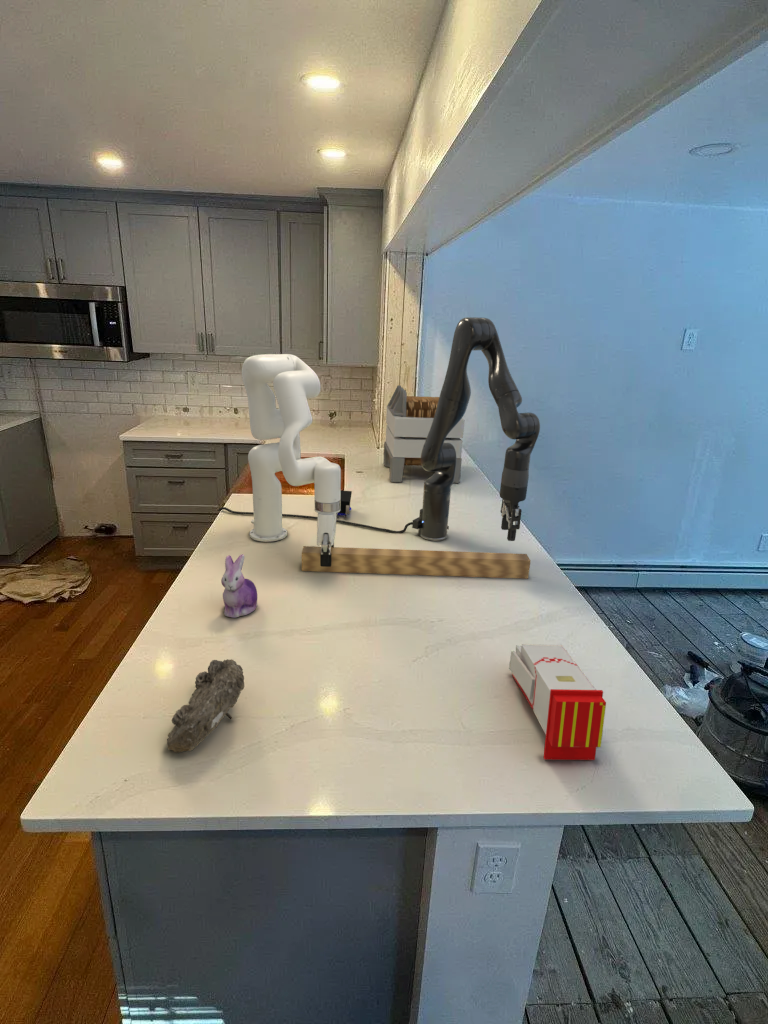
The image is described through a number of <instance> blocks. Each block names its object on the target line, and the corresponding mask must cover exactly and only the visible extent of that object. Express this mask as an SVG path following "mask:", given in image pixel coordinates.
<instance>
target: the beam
mask: <svg viewBox="0 0 768 1024" xmlns="http://www.w3.org/2000/svg"><path fill="white" fill-rule="evenodd" d="M327 548H328V549H329V547H327ZM320 553H321V546H316V545H315V546H312V545H311V546H309V545H304V546H303V547H302V550H301V571H302V572H318V573H319V572H320V573H321V572H322V573H323V572H324V573H349V574H350V573H352V574H353V573H354V574H377V575H378V574H381V575H383V574H384V575H411V576H412V575H413V576H438V577H464V578H465V577H466V578H467V577H468V578H496V579H497V578H498V579H523V580H524V579H525V580H526V579H527V580H528V579H529V574H530V567H531V558H530V557H529V555H528V554H527V553H511V552H510V553H508V552H507V553H506V552H480V551H454V550H453V551H451V550H423V549H400V548H398V549H395V548H371V547H370V548H369V547H342V546H341V547H339V546H338V547H337V546H334V547H331V553H332V562H331V567H323V566H320Z"/></svg>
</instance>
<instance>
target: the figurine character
mask: <svg viewBox="0 0 768 1024" xmlns="http://www.w3.org/2000/svg"><path fill="white" fill-rule="evenodd" d="M352 492H353V491H352V490H342V489H341V505H340V512H338V513H336V519H339V518H340V517H341V516H344V519H347V516H348V515H350V511H352V507H351V498H352V494H353V493H352Z"/></svg>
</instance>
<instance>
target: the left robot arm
mask: <svg viewBox="0 0 768 1024" xmlns="http://www.w3.org/2000/svg"><path fill="white" fill-rule="evenodd" d="M241 379H242V383H243V387H244V389H245V393H246V397H247V405H248V406H247V407H248V416H249V428H250V432H251V435H252V438H254V439H255V440H257V441H268V440H276V439H279V441H277V442H269V443H263V444H258V445H255V446H253V447H252V448H251V449H250V450H249V452H248V453H247V454H248V455H247V462H248V466H249V470H250V475H251V487H252V510H253V511H252V512H253V514H254V515H253V519H251V520H250V523H251V524H253V528H252V529H251V530H250V531H249V538H250V539H252V540H253V541H257V542H262V543H263V542H265V543H270V542H271V543H272V542H277V541H281V540H283V539H285V538H286V537H287V536H288V530H287V529H286V528H285V527H283V516H282V514H283V489H282V483H281V481H280V479H279V478H278V477H277V475H276V473H278V472H279V473H280V472H282V474H283V477H284V479H285V481H286V482H287V483H288V485H289V486H293V487H300V486H306V485H309V484H314V487H313V488H314V490H313V492H314V495H313V497H314V498H313V499H314V512H315V513H316V514H317V517H318V518H317V519H316V523H317V524H316V545H317V547H321V553H320V566H323V567H331V562H332V553H331V547H335V539H336V533H337V532H336V531H337V522H336V520H337V514H338V512H340V505H341V490H342V489H341V488H342V469H341V466H340V465H339V464H338V463H335V462H331V461H329V460H328V459H327V458H326V457H324V456H319V455H318V456H312V457H304V458H302V452H301V450H302V449H301V434H300V433H301V432H302V431H304V430H305V429H307V428H309V427H310V426H311V425H312V424H313V416H312V413H311V409H310V405H309V403H308V399H310V400H311V399H315V398H317V397H318V396H319V395H320V393H321V389H322V388H321V387H322V386H321V381H320V378H319V376H318V374H317V373H316V372H315V370H314V369H313V368H311V367H310V366H309V365H308V364H307V363H305V362H304V361H303V360H302V358H300V357H298V356H297V355H294V354H292V353H275V354H274V353H266V354H265V353H263V354H255V355H254V354H253V355H251V356H248V357H247V358H245V360H244V362H243V363H242V366H241ZM269 384H272V386H273V390H274V391H273V390H272V388H271V386H269ZM274 393H275V394H274ZM276 401H277V405H278V408H277V405H276ZM336 513H337V514H336ZM327 547H329V549H328V548H327Z"/></svg>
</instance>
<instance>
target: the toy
mask: <svg viewBox="0 0 768 1024" xmlns="http://www.w3.org/2000/svg"><path fill="white" fill-rule="evenodd" d="M510 651H511V653H510V658H509V659H510V660H509V666H508V669H509V671H510V672H511V676H512V678H513V679H514V681H515V682H516V685H517V686H518V688H519V690H520V691H521V692H522V694H523V697H525V699H526V701H527V703H528V704H529V706H530V708H531V709H532V711H533V713H534V715H535V717H536V719H537V721H538V723H539V725H540V727H541V728H542V731H543V732H544V734H545V739H544V750H543V760H555V761H557V760H560V761H561V760H562V761H563V760H564V761H565V760H567V761H570V760H571V761H595V760H596V754H597V748H601V746H602V740H603V738H602V737H603V732H604V723H605V716H606V707H607V701H606V700H605V698H603V696H604V691H603V690H602V689H597V688H596V687H595V686H594V684H593V683H592V682H591V681H590V679H589V677H587V675H586V674H585V673H584V671H583V670H582V669H581V667H580V666H579V664H578V663H576V660H574V659H573V658H572V656H571V655H570V653H569V652H568V650H567V649H566V648H565V647H564V645H562V644H529V643H525V644H524V643H523V644H522V643H521V645H520V644H519V645H518V644H517V645H515V650H514V649H513V650H510Z"/></svg>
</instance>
